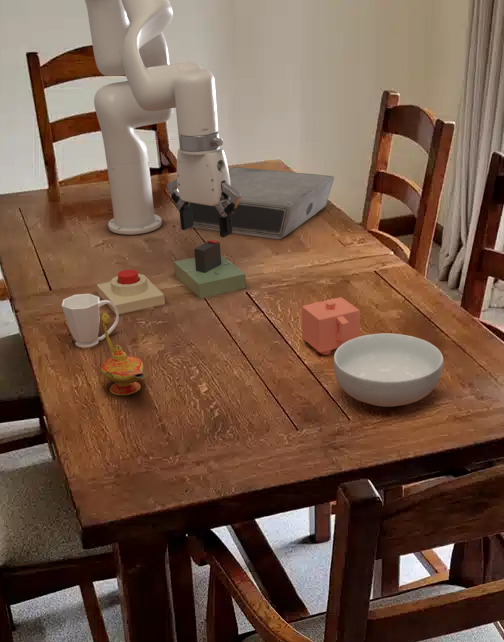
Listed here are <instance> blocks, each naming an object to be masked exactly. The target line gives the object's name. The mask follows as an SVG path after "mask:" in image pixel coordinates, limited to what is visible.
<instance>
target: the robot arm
mask: <svg viewBox="0 0 504 642" xmlns="http://www.w3.org/2000/svg"><path fill="white" fill-rule="evenodd" d="M84 2H85V5H86V10H87V17H88V23H89V30H90V37H91V43H92V44H91V45H92V50H93V56H94V61H95V65H96V68H97V69H98V71H99V73H101V74H102V75H103V76H107V77H119V76H125V77H126V80H125V81H118V82H112V83H108V84H105V85H103V86H101V87H100V88H99V89H98V90H96V92H95V95H94V98H93V103H94V104H93V105H94V111H95V114H96V118H97V121H98V125H99V128H100V132H101V137H102V142H103V149H104V154H105V155H104V156H105V161H106V168H107V176H108V182H109V191H110V198H111V199H110V200H111V207H112V212H113V213H112V215H113V218H112V219H110V220H109V221H108V223H107V226H108V230H109V231H110V232H112V233H114V234H118V235H125V236H126V235H129V236H131V235H142V234H147V233H150V232H153V231H156V230H158V229H159V228H161V226H162V225H163V221H162V220H163V219H162V217H161V216H159V215H158V214H155V207H154V198H153V188H152V181H151V180H152V179H151V171H150V170H151V169H150V161H149V153H148V147H147V145H146V143H145V141H144V140H143V139H142V138H141V137H140V136H139V135H138V133H136V132H135V129H137V128H140V127H144V126H145V127H146V126H150V125H156V124H162V123H166V122H167V121H169V120H170V119H171V118H172V116H173V113H174V109H175V113H176V124H177V133H178V144H179V148H178V149H177V155H176V179H174V180H173V181H170V182H168V183H167V184H166V188H167V190H168V193H169V195H170V198H171V200H172V201H173V202H174V204H175V208H176V209H177V210H178V212H179V220H180V229H181V230H182V231H186V230H188V229H190V228H192V226H193V214H192V207H191V206H189V204H190V203H196V204H202V205H208V206H215V207H216V209H217V210H218V212H219V213H220V215H221V217H219V229H220V231H219V236H220V238H226V237H228V236H229V235H232V234H233V233H232V215H231V214H233V213H234V211H235V210H236V208H237V207H238V203H239V201H240V199H241V194H240V193H239V192H238V191H236V190H235V189H234V188H233V187H231V185H230V177H229V171H228V170H229V166H228V161H227V157H226V154H225V150H224V148H221V146H222V145H223V144H224V139H223V138H222V137H220V135H219V133H220V132H219V121H218V107H217V106H218V105H217V92H216V82H215V81H216V79H215V76H214V74H213V72H212V71H210V70H208V69H205V68H204V69H203V67H202V66H201V65H200V64H199V63H197V62H194V61H185V62H179V63H170V55H169V49H168V43H167V40H166V37H165V34H164V31H165V30H166V29H167V28H168V27H169V26H170V24H171V22H172V20H173V17H174V10H173V6H172V3H171V2H170V0H84ZM230 199H231V201H230V203H229V201H228V200H230ZM222 204H223V206H224V207H225V209H224V207H223V206H222Z"/></svg>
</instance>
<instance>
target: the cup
mask: <svg viewBox="0 0 504 642" xmlns="http://www.w3.org/2000/svg"><path fill="white" fill-rule="evenodd" d="M100 298H101V297H100V296H99V295H94V294H92V293H81V294H80V293H77V294H73V295H71V296H68V297H66V298H64V299H62V302H61V308H62V312H63V315H64V317H65V320H66V323H67V327H68V329H69V331H70V334H71V336H72V338H73V340H74V341H75V343H74V344H75V346H77V347H79V348H92V347H95V346H96V345H98V344H99V341H102V340H104V339H106V336H105V333H103V334H102V335H101V336H99V332H100V320H101V319H100V318H101V317H100V315H101V314H100V313H101V312H100V307H102V306H104V305H107V303H109V304H111V305H112V306H113V307H114V309H115V312H116V314H115V320H114V322H113V323H112V325H111V326H110V327H109V328H108V329H107V332H108V334H109V335H110V334H112V332H113V331H114V330H115V329H116V327H117V326H118V325H119V321H120V316H119V315H120V314H118V311H117V308H116V306H115V305H114V304H113V303H112V302H110V301H108V300H103V299H102V300H100Z"/></svg>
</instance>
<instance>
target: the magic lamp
mask: <svg viewBox="0 0 504 642" xmlns="http://www.w3.org/2000/svg"><path fill="white" fill-rule="evenodd" d="M101 320H102V322H103V323H102V327H103V330H104V334H105V336H106V337H105V340H106V342H107V344H108V347H109V349H110V353H111V355H112V357H109V358H108V359H105V360H104V361H103V362H102V364H101V367H100V371H101V373H102V375H103V377H105V378H106V379H107V380H108V381H111V382H114V383H113V384H111V386H110V387H109V392H110V393H112V394H113V395H115V396H128V395H133V394H135V393H137V392H138V391H140V390H141V384H140V383H139V382H138V381H139V380H143V379H144V378H145V377H146V374H145V373H144V372H143V371H144V363H143V362H142V360H141V359H140V357H139V358H138V357H137V356H134V355H129V354H128V355H127V354H126V352H125V351H124V350H123V347H122V346H121V345H120V344H115V347H114V345H113V343H112V340H111V338H110V334H108V332H107V331H108V327H109V324H110V320H111V318H110V315H109V314H108V313H106V312H103V314H102V315H101Z"/></svg>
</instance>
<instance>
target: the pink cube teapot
mask: <svg viewBox="0 0 504 642" xmlns="http://www.w3.org/2000/svg"><path fill="white" fill-rule="evenodd" d="M360 335H361V310H360V309H359V308H357V307H355V305H353V304H352V303H351V302H349V301H347V300H346V299H344V298H343V297H342V296H339V297H335V298H331V299H326V300H322V301H314V302H311V303H310V304H305V305H302V306H301V339H303V340H304V341H305V342H307V343H308V344H309V345H310V346H311V347H312V348H314V350H316V351H317V352H318V353H320V354H322V355H323V356H327V355H330V354H332V353H331V351H332V350H337V349H338V348H339V347H340V346H341V345H342V344H343V343H345V342H347V341H349V340H351V339H354V338H357V337H360Z"/></svg>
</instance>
